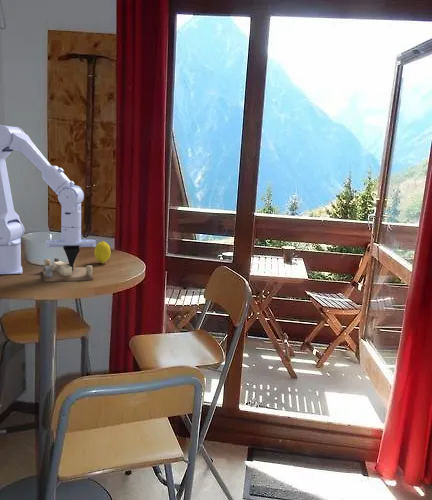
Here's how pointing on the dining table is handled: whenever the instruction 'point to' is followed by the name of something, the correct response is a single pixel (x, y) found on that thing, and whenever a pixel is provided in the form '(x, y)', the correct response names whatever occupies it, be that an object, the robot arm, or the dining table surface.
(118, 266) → the dining table surface
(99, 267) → the dining table surface
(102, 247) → the lemon
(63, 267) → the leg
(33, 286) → the dining table surface
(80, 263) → the dining table surface
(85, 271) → the board
